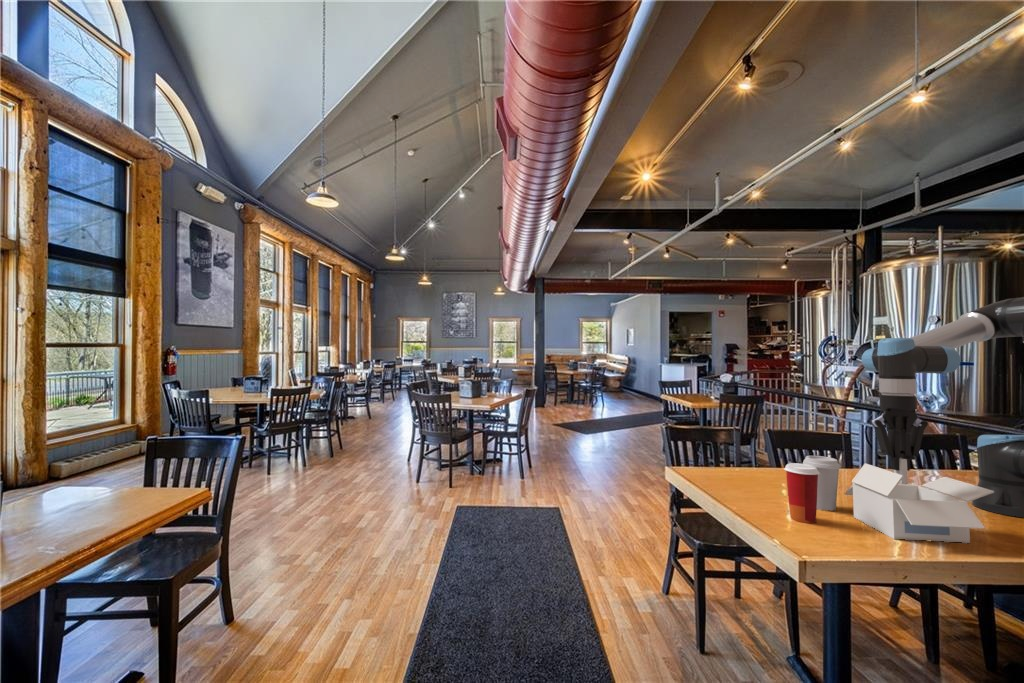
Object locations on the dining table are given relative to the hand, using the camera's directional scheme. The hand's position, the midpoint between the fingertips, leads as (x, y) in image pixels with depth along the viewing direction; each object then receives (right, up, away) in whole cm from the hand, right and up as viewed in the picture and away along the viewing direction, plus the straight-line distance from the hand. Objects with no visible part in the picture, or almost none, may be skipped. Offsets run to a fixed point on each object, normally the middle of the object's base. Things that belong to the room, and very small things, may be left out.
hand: (900, 482), depth 113 cm
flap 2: (+13, -1, -2) cm, 13 cm away
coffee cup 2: (-9, -14, +17) cm, 23 cm away
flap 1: (-6, +1, +1) cm, 6 cm away
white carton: (+1, -12, -1) cm, 12 cm away
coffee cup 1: (-22, -13, +6) cm, 26 cm away
